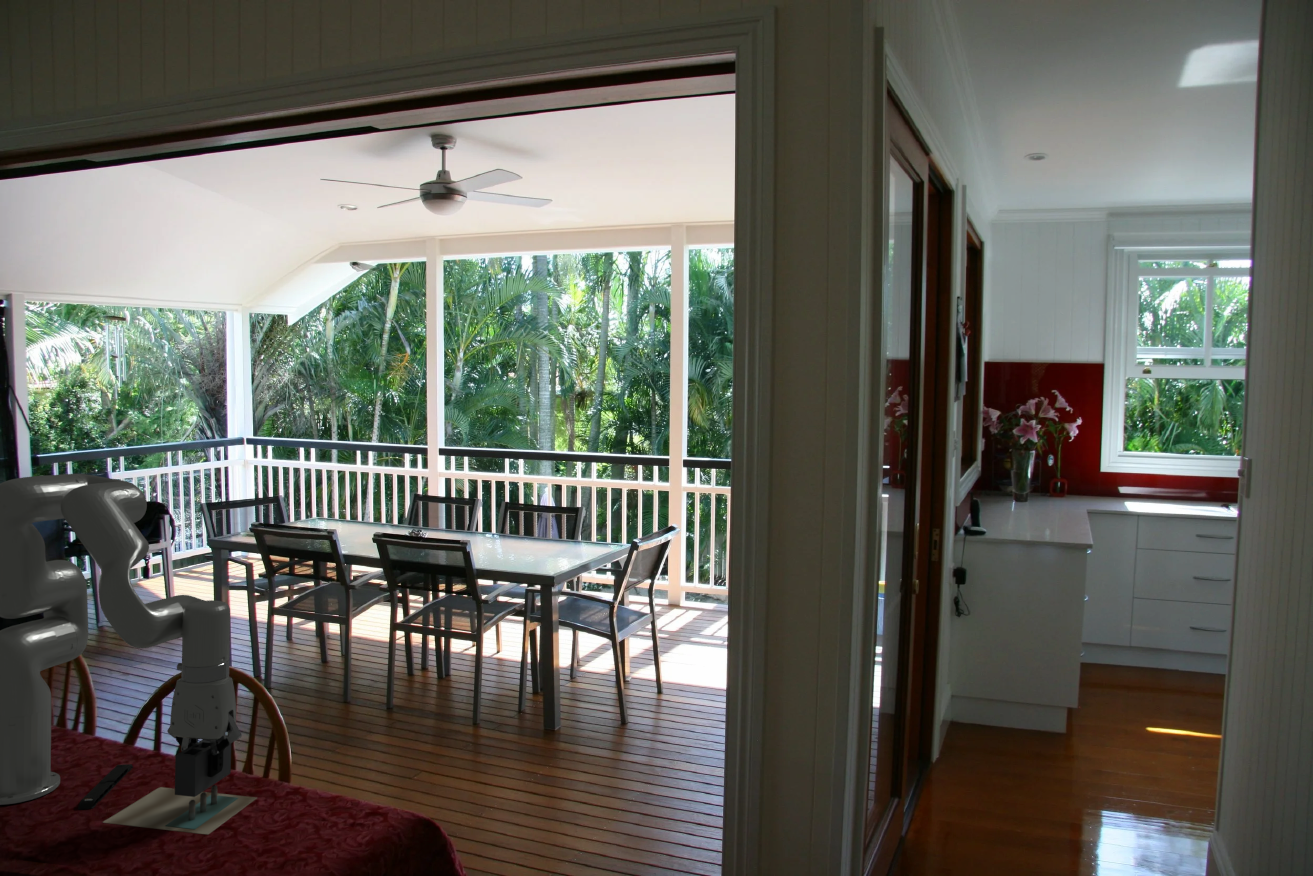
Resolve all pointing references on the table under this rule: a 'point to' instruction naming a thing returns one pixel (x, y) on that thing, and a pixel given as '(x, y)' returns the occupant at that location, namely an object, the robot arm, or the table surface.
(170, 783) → the table surface
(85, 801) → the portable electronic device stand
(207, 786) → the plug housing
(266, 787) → the table surface
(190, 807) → the pin board
